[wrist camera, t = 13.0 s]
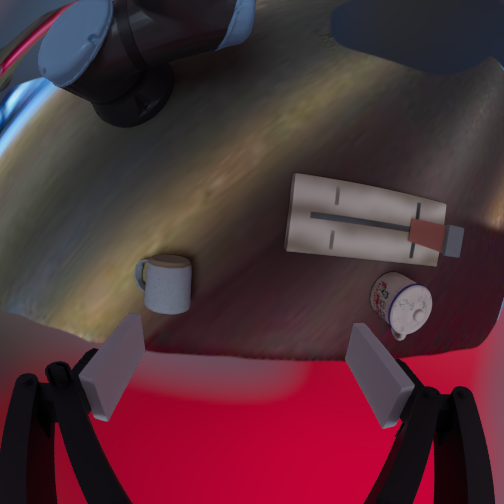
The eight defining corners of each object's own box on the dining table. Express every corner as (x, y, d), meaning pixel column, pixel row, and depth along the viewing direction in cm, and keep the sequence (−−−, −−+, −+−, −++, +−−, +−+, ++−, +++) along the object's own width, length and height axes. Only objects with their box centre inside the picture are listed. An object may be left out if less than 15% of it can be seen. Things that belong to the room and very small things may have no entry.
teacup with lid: (368, 273, 47) (399, 296, 36) (408, 266, 47) (444, 285, 36) (366, 331, 50) (392, 362, 38) (404, 322, 49) (434, 348, 38)
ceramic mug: (196, 255, 46) (186, 267, 38) (193, 300, 47) (184, 319, 40) (138, 248, 45) (119, 258, 38) (138, 292, 47) (120, 308, 39)
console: (292, 174, 43) (295, 173, 40) (437, 203, 44) (446, 204, 41) (283, 247, 46) (286, 251, 43) (427, 262, 47) (436, 266, 44)
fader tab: (411, 217, 42) (449, 224, 31) (425, 219, 42) (464, 228, 31) (407, 242, 42) (444, 255, 32) (421, 244, 43) (459, 257, 32)
